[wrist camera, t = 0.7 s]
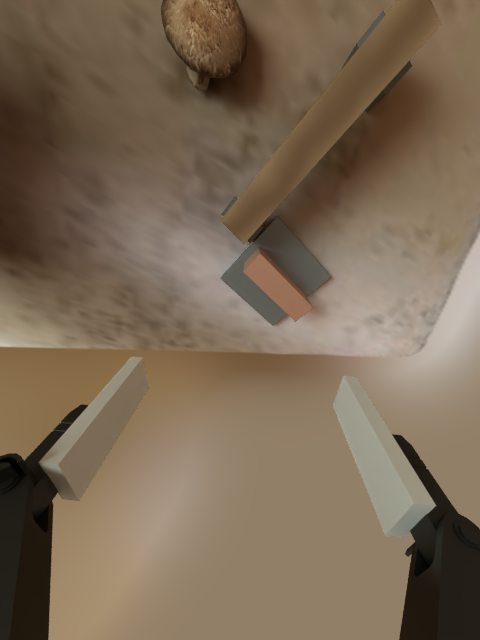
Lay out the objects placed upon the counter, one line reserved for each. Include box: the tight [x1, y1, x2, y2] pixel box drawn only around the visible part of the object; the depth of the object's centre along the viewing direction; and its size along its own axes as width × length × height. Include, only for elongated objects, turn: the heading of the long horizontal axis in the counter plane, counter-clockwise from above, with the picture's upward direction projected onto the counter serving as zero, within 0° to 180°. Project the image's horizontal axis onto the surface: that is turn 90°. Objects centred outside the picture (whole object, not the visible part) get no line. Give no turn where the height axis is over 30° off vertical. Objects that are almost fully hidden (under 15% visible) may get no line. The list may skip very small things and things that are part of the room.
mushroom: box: [161, 0, 247, 91], centre depth 21 cm, size 8×8×6 cm
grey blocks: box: [222, 11, 412, 243], centre depth 24 cm, size 5×22×4 cm, turn 137°
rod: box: [220, 0, 442, 244], centre depth 21 cm, size 4×22×4 cm, turn 137°
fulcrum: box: [221, 216, 331, 326], centre depth 30 cm, size 12×12×7 cm
